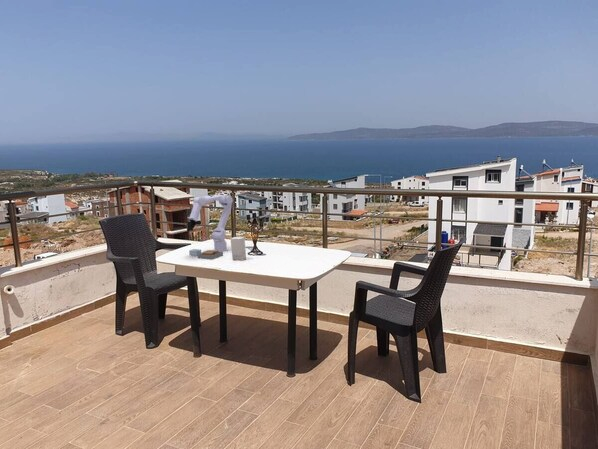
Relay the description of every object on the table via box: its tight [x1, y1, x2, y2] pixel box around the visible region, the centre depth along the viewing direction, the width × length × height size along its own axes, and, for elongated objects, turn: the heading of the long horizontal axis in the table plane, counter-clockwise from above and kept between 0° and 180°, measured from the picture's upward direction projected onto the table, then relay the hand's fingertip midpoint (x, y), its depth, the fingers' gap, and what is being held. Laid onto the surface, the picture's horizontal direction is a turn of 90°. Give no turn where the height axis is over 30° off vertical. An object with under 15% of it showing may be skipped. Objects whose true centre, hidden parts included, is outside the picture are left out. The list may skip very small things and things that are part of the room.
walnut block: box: [201, 249, 218, 256], centre depth 312 cm, size 8×8×4 cm
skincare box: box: [230, 236, 247, 261], centre depth 305 cm, size 8×7×16 cm
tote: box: [197, 251, 224, 261], centre depth 313 cm, size 13×13×4 cm
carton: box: [188, 248, 202, 257], centre depth 319 cm, size 5×7×5 cm
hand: (189, 230), depth 307 cm, fingers open, 7 cm apart
